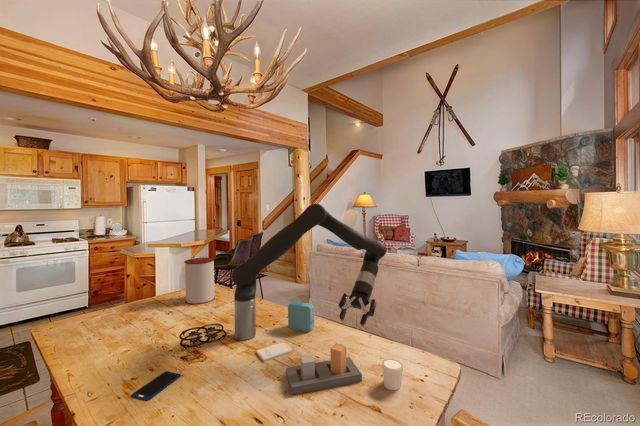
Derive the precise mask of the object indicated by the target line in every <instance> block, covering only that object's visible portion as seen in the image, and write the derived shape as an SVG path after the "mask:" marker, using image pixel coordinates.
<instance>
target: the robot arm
mask: <svg viewBox="0 0 640 426" xmlns="http://www.w3.org/2000/svg"><path fill="white" fill-rule="evenodd" d="M316 226H320V227H322V228H324V229H326V230H327V231H329V232H331V233H332V234H334V235H335V236H336V237H338V238H339V239H340V240H341V241H343V242H344V243H345V244H346V245H348V246H349V247H352V248H353V249H355V250H357V251H361V250H365V252H364V255H363V261H362V265H361V268H360V271H359V273H358V275H357V276H356V279H355V282H354V285H353V288H352V290H351V294H350V295H348V294H347V293H345V292H344V293H343V294H342V296H341V298H340V301H339V303H338V307H339V309H340V313H339V319H340V321H342V322H343V321H344V320H345V317H346V314H347V311H349V310H352V309H357V310H362V311H363V314H362V315H361V317H360V321H359V325H360V326H361V327H364V325H366V324H367V321H368V318H369V317H374V315H375V310H376V308H377V301H376V299H375V298H372V299H370V298H371V296H372V293H373V291H374V290H373V289H374V287H375V283H376V279H377V276H378V273H379V265H378V264H379V261H380V260H381V259H382V258H383V257H384V256H386V254H387V248H386V247H385V245H384V244H383V243H382V242H381V241H379V240H376V239H374V238H371V237H368V236H366V235H363V234H362V233H360V232H359V231H357V230H355V228H353V227H351V226H349V225H347V224H345V223H343V222H342V221H340V220H338V219H337V218H336V217H334V216H333V215H331V213H329V212H328V211H327V210H326V208H325V207H324V206H323V205H322V204H319V203H312V204H309V205H308V206H307V207H306V208H305V209H304V210H303V211H302V212H301V213H300V214H299V216H297V217H296V219H294V221H292V222H291V223H289V224H287V225H286V226H284V227H283V228H282V229H280V230H279V231H278V232H277V233H275V234H274V235H273V236H272V237H270V238H269V239H268V240H267V241H266V242H265V243H264V244H263V245H262V246H261V247H260V248H259V249H258V250H257V251H256V252H255V253H254V254H253V255H252V256H251V257H249V258H248V259H247V260H245V261H244V262H241V263H240V264H238V265H237V266H235V268H234V269H233V271H232V274H231V280H232V282H233V283H234V284H235V285H236V286H235V291H234V295H233V297H234V298H233V299H234V300H233V301H234V340H235V341H236V340H240V341H247V340H250V339H253V338H254V337H256V335H257V334H256V332H257V325H256V324H257V323H256V321H257V318H256V316H257V315H256V314H257V313H256V291H257V275H259V274H260V273H261V271H263V270H264V269H265V268H266V267H267V266H270V265H271V264H273V263H274V262H275V261H277V260H278V259H280V258H281V257H282V256H283V255H285V254H286V253H287V252H288V251H289V250H291V249H292V248H293V247H294V246H295V245H296V244H297V243H298V241H299V240H300V239H301V238H302V237H303V236H304V235H305V234H306V233H307V232H309V231H310V230H311V229H313V228H315V227H316ZM368 305H370V306H369V309H367V306H368Z"/></svg>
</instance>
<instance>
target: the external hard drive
mask: <svg viewBox="0 0 640 426" xmlns="http://www.w3.org/2000/svg"><path fill="white" fill-rule="evenodd" d="M255 353H256V355H257V356H259V357H260V359H261V360H262V362H263V363H266V362H268V361H270V360H274V359H276V358H280V357H282V356H286V355H288V354H291V353H293V348H291V347H290V346H289V345H288V344H287V343H286V342H284V341H282V342H279V343H275V344H273V345H272V344H271V345H269V346H267V347H266V346H265V347H263V348H260V349H257V350H255Z"/></svg>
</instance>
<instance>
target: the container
mask: <svg viewBox="0 0 640 426" xmlns="http://www.w3.org/2000/svg"><path fill="white" fill-rule="evenodd" d="M214 263H215V258H213V257H194V258H189V259H186V260H184V266H185V267H184V268H185V269H184V270H185V273H184V274H185V278H184V279H185V300H184V302H185V303H186V304H187V305H192V304H195V305H202V304H203V305H204V304H208V303H210V302H213V301H214V300H215V299H216V296H215V264H214Z"/></svg>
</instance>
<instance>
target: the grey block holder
mask: <svg viewBox="0 0 640 426" xmlns="http://www.w3.org/2000/svg"><path fill="white" fill-rule="evenodd" d="M285 375H286V379H287V382H288V386H289V389H290V393H291V396H293V395H299V394H303V393H309V392H314V391H319V390H325V389H330V388H333V387H338V386H344V385H351V384H355V383H360V382H362V381H363V379H362V378H363V374H362V372H361V371H360V369H359V368H358V367H357V365H356V364H355V362H354V361H353V360H352V359H351V357H350V356H348V357H347V356H346V373H343V374H338V375H332V374H331V359H329V360H323V361H317V362H316V360H315V359H314V357H313V355H312V354H311V355H305V356H300V364H299V365H294V366H287V367H286V368H285Z"/></svg>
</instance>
